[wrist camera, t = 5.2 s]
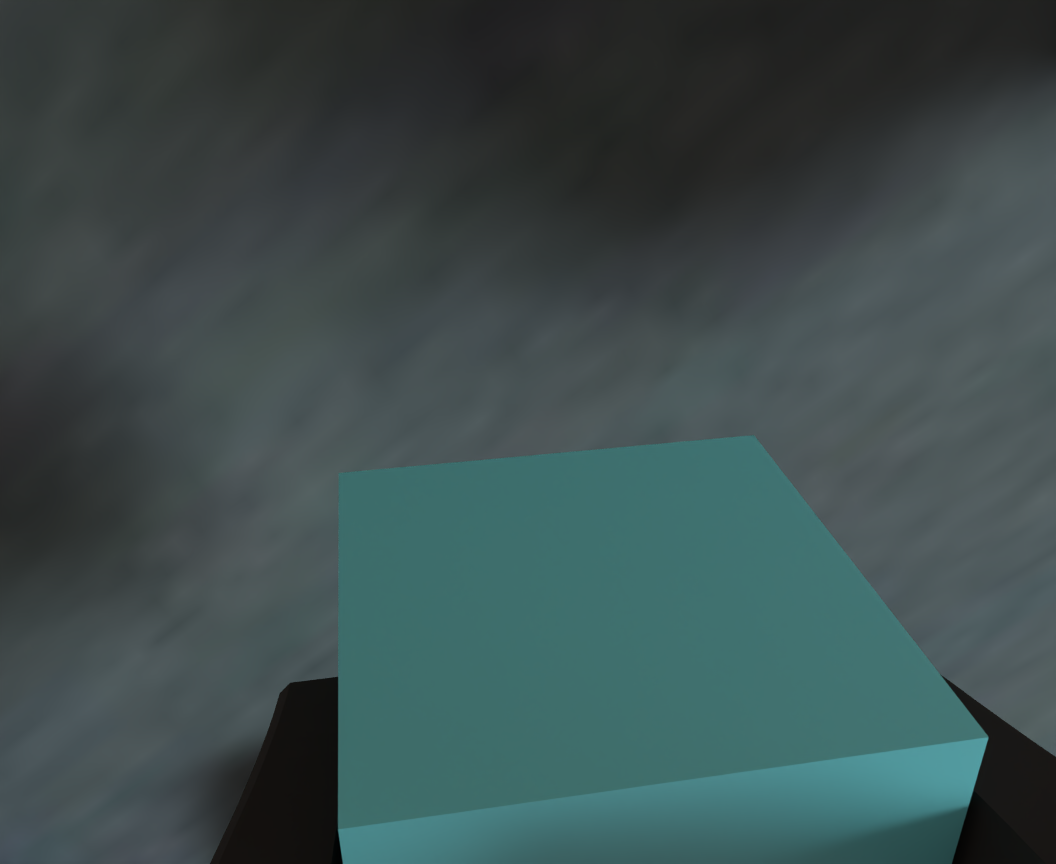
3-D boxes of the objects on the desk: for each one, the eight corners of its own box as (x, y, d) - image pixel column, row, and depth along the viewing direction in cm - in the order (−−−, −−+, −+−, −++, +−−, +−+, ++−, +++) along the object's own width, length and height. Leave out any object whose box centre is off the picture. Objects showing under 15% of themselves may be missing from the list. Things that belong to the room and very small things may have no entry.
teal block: (753, 435, 11) (988, 737, 7) (719, 735, 13) (883, 1095, 9) (338, 473, 10) (339, 830, 6) (374, 781, 12) (390, 1192, 8)
